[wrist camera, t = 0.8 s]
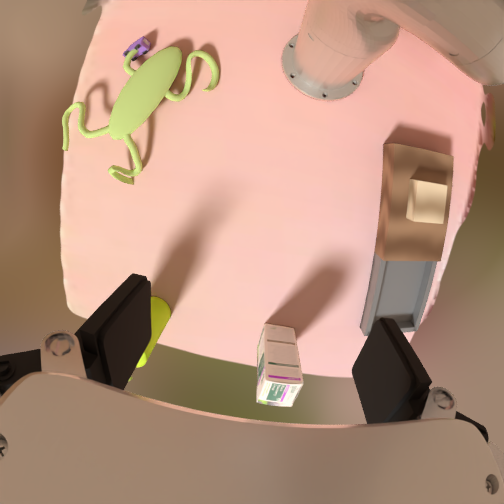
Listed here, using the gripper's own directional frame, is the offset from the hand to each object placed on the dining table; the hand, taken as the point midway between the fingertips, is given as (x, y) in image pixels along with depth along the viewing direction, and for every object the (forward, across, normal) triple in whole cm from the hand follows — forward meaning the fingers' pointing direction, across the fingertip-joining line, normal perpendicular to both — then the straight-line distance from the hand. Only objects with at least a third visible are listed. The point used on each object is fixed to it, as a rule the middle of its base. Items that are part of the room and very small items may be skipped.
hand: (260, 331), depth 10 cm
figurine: (+33, +24, -12) cm, 42 cm away
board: (+32, -24, -5) cm, 41 cm away
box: (+32, -27, +11) cm, 43 cm away
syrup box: (+32, -7, +24) cm, 41 cm away
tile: (+28, -24, -6) cm, 38 cm away
